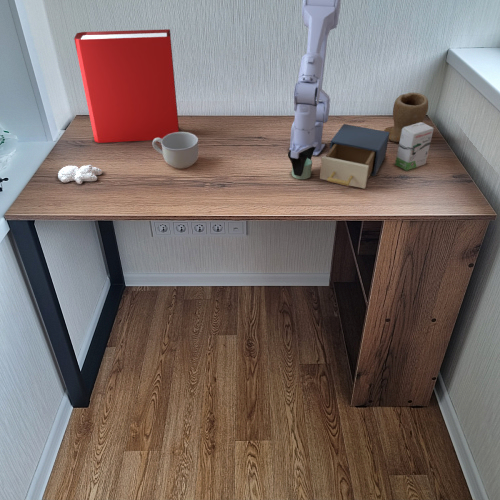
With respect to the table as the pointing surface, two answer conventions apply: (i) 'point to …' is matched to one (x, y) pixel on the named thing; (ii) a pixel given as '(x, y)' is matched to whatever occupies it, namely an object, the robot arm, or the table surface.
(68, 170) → the white plush toy
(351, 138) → the cabinet
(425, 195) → the table surface
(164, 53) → the book
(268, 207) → the table surface
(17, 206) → the table surface
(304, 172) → the cup
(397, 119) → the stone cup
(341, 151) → the drawer
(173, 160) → the teacup
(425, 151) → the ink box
